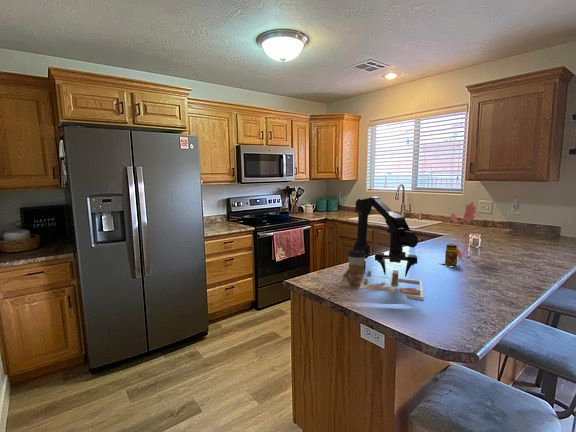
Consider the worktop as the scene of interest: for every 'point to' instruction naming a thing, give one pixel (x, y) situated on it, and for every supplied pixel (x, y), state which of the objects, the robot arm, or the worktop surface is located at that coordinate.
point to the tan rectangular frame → (394, 276)
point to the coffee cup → (356, 262)
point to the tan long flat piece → (372, 286)
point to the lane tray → (402, 287)
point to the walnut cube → (354, 280)
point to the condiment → (451, 255)
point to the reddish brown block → (410, 291)
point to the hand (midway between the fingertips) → (395, 275)
